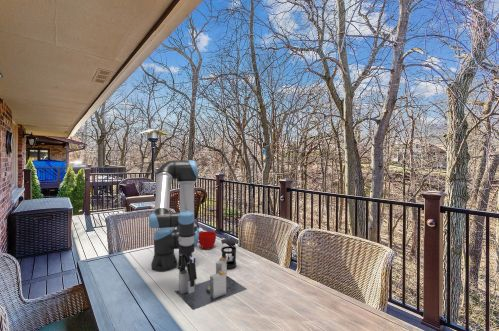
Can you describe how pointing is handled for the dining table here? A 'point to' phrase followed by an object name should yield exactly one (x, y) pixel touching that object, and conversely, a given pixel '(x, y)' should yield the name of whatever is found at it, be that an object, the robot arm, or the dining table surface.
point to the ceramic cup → (207, 239)
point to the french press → (230, 243)
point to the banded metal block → (218, 284)
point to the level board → (208, 293)
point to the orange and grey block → (184, 282)
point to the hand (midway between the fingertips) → (187, 288)
